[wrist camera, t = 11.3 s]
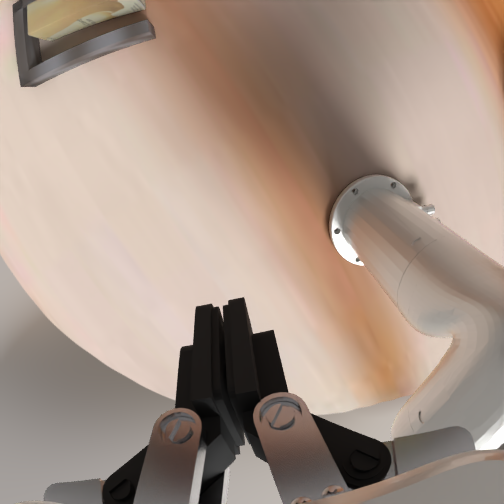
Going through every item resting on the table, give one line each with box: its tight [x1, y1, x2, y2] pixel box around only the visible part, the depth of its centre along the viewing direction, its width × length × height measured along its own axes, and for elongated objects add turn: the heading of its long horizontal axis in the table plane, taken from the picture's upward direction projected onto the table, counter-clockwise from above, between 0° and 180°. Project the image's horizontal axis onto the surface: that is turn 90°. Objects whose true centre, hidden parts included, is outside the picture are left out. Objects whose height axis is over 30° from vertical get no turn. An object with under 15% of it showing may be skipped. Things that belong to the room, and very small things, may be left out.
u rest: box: [13, 0, 156, 87], centre depth 23 cm, size 16×12×4 cm
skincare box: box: [27, 0, 146, 41], centre depth 21 cm, size 6×4×12 cm
